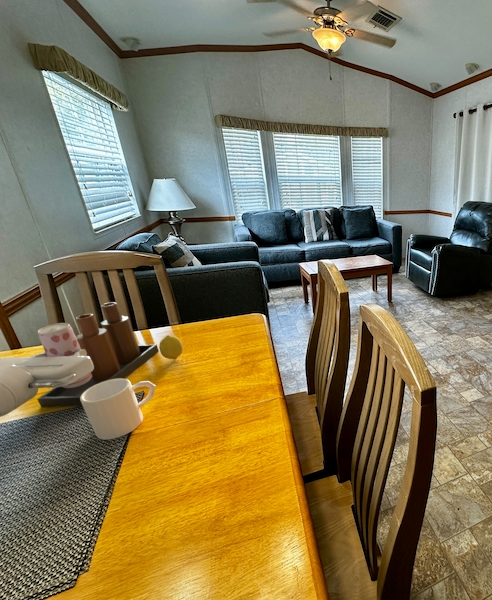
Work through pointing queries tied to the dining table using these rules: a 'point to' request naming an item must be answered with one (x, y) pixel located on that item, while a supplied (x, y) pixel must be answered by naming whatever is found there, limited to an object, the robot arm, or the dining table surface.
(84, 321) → the bottle middle
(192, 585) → the dining table surface
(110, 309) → the bottle back
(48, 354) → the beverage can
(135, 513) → the dining table surface
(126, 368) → the tray
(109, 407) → the mug
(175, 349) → the lemon
